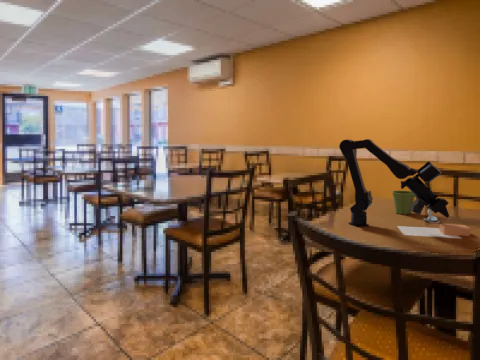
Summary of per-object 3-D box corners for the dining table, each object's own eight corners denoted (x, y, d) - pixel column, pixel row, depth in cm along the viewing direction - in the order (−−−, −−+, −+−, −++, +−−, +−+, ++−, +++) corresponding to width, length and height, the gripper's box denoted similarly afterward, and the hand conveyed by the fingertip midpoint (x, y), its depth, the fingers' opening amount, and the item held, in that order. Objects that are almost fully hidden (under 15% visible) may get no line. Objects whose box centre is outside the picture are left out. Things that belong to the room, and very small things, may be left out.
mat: (403, 235, 130) (404, 234, 130) (396, 226, 143) (396, 225, 143) (461, 239, 125) (462, 238, 125) (448, 229, 138) (448, 228, 138)
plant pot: (409, 210, 175) (411, 190, 173) (419, 216, 163) (421, 194, 162) (387, 210, 176) (388, 190, 175) (395, 215, 164) (396, 193, 163)
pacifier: (442, 222, 151) (428, 220, 155) (443, 209, 150) (429, 207, 154) (435, 225, 146) (421, 222, 151) (437, 212, 145) (422, 209, 150)
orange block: (444, 227, 130) (470, 228, 127) (439, 223, 135) (464, 225, 133) (443, 234, 130) (469, 235, 128) (439, 230, 135) (463, 232, 133)
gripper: (398, 198, 144) (424, 224, 143) (409, 206, 126) (439, 236, 125) (419, 181, 141) (446, 207, 140) (433, 187, 123) (464, 217, 122)
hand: (448, 216), depth 131 cm, fingers closed
